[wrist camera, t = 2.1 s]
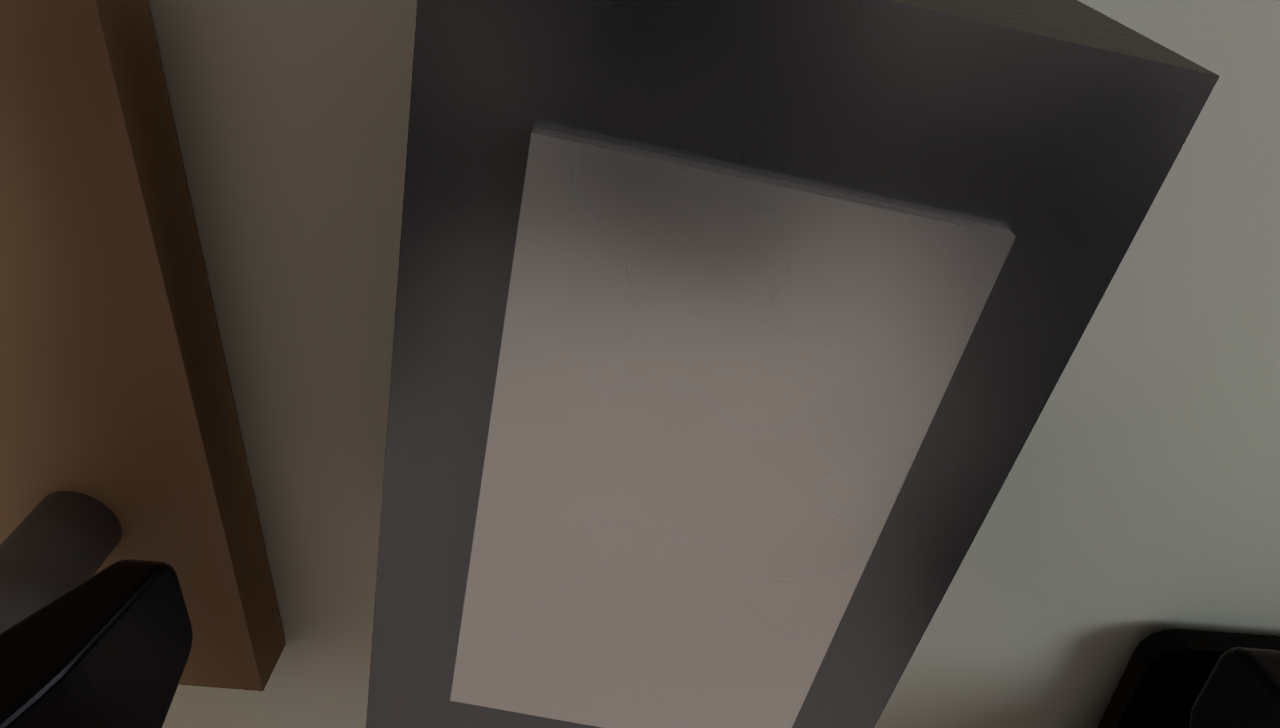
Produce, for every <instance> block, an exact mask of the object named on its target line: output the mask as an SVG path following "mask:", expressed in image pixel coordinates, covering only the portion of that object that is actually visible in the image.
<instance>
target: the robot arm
mask: <svg viewBox="0 0 1280 728" xmlns="http://www.w3.org/2000/svg"><path fill="white" fill-rule="evenodd" d="M192 639H193V632H192V625H191V621H190V618H189V614H188V611H187V607H186V604H185V600H184V597H183V593H182V590H181V586H180V583H179V579H178V576H177V573H176V571H175V569H174V568H173V567H172V566H171V565H170V564H168V563H165V562H159V561H146V560H133V559H126V560H121V561H118V562H115V563H113V564H112V565H110V566H108V567H106V568H105V569H103V570H102V571H100V572H98V573H97V574H95V575H93V576H92V577H90V578H89V579H87V580H85V581H84V582H82V583H81V584H79V585H77V586H76V587H74V588H73V589H71V590H69V591H68V592H66V593H64V594H63V595H61V596H60V597H58V598H56V599H55V600H53V601H52V602H50V603H48V604H47V605H45V606H44V607H42V608H40V609H39V610H37V611H35V612H34V613H32V614H31V615H29V616H27V617H26V618H24V619H23V620H21V621H19V622H18V623H16V624H15V625H13V626H11V627H10V628H8V629H6V630H5V631H3V632H2V633H0V728H162V726H163V723H164V721H165V718H166V716H167V713H168V710H169V708H170V705H171V702H172V700H173V697H174V695H175V692H176V689H177V687H178V684H179V682H180V679H181V676H182V674H183V671H184V668H185V666H186V663H187V661H188V658H189V655H190V651H191V647H192ZM1097 728H1280V637H1276V636H1263V635H1250V634H1237V633H1224V632H1211V631H1198V630H1185V629H1169V630H1163V631H1160V632H1156V633H1153V634H1151V635H1150V636H1148V637H1147V638H1145V639H1143V640H1142V641H1141V643H1140V644H1139V645H1138V646H1137V648H1136V649H1135V651H1134V653H1133V655H1132V657H1131V659H1130V661H1129V663H1128V665H1127V667H1126V670H1125V672H1124V674H1123V676H1122V678H1121V680H1120V682H1119V684H1118V686H1117V688H1116V690H1115V692H1114V694H1113V696H1112V698H1111V700H1110V702H1109V704H1108V706H1107V708H1106V710H1105V712H1104V714H1103V716H1102V718H1101V720H1100V722H1099V724H1098V726H1097Z"/></svg>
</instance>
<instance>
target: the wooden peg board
mask: <svg viewBox="0 0 1280 728" xmlns="http://www.w3.org/2000/svg"><path fill="white" fill-rule="evenodd" d="M126 559H133V560H146V561H159V562H165V563H168V564H170V565H171V566H172V567H173V568H174V569H175V571H176V573H177V576H178V579H179V583H180V586H181V590H182V593H183V597H184V600H185V604H186V607H187V611H188V614H189V618H190V621H191V625H192V632H193V639H192V647H191V651H190V655H189V658H188V661H187V663H186V666H185V668H184V671H183V674H182V676H181V679H180V682H179V684H181V685H194V686H206V687H219V688H231V689H244V690H257V691H263V690H264V688H265V686H266V684H267V682H268V680H269V678H270V675H271V673H272V671H273V669H274V667H275V665H276V663H277V661H278V659H279V657H280V655H281V653H282V651H283V649H284V646H285V639H284V634H283V630H282V625H281V620H280V616H279V611H278V606H277V602H276V597H275V592H274V588H273V583H272V578H271V574H270V569H269V564H268V560H267V555H266V550H265V546H264V541H263V536H262V532H261V527H260V522H259V518H258V513H257V508H256V504H255V499H254V495H253V490H252V485H251V481H250V476H249V471H248V467H247V462H246V457H245V453H244V448H243V443H242V439H241V434H240V429H239V425H238V420H237V415H236V411H235V406H234V401H233V397H232V392H231V387H230V383H229V378H228V373H227V369H226V364H225V359H224V355H223V350H222V345H221V341H220V336H219V331H218V327H217V322H216V317H215V313H214V308H213V303H212V299H211V294H210V289H209V285H208V280H207V275H206V271H205V266H204V261H203V257H202V252H201V247H200V243H199V238H198V233H197V229H196V224H195V220H194V215H193V210H192V206H191V201H190V196H189V192H188V187H187V182H186V178H185V173H184V168H183V164H182V159H181V154H180V150H179V145H178V140H177V136H176V131H175V126H174V122H173V117H172V112H171V108H170V103H169V98H168V94H167V89H166V84H165V80H164V75H163V70H162V66H161V61H160V56H159V52H158V47H157V42H156V38H155V33H154V28H153V24H152V19H151V14H150V10H149V5H148V0H0V633H2V632H3V631H5V630H6V629H8V628H10V627H11V626H13V625H15V624H16V623H18V622H19V621H21V620H23V619H24V618H26V617H27V616H29V615H31V614H32V613H34V612H35V611H37V610H39V609H40V608H42V607H44V606H45V605H47V604H48V603H50V602H52V601H53V600H55V599H56V598H58V597H60V596H61V595H63V594H64V593H66V592H68V591H69V590H71V589H73V588H74V587H76V586H77V585H79V584H81V583H82V582H84V581H85V580H87V579H89V578H90V577H92V576H93V575H95V574H97V573H98V572H100V571H102V570H103V569H105V568H106V567H108V566H110V565H112V564H113V563H115V562H118V561H121V560H126Z"/></svg>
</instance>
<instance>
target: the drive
mask: <svg viewBox="0 0 1280 728" xmlns="http://www.w3.org/2000/svg"><path fill="white" fill-rule="evenodd" d="M1218 78H1219V76H1218V75H1217V74H1215V73H1213V72H1211V71H1209V70H1207V69H1205V68H1203V67H1201V66H1200V65H1198V64H1196V63H1194V62H1192V61H1190V60H1188V59H1186V58H1185V57H1183V56H1181V55H1179V54H1177V53H1175V52H1173V51H1171V50H1170V49H1168V48H1166V47H1164V46H1162V45H1160V44H1158V43H1156V42H1154V41H1153V40H1151V39H1149V38H1147V37H1145V36H1143V35H1141V34H1139V33H1138V32H1136V31H1134V30H1132V29H1130V28H1128V27H1126V26H1124V25H1123V24H1121V23H1119V22H1117V21H1115V20H1113V19H1111V18H1109V17H1107V16H1106V15H1104V14H1102V13H1100V12H1098V11H1096V10H1094V9H1092V8H1091V7H1089V6H1087V5H1085V4H1083V3H1081V2H1079V1H1077V0H418V2H417V16H416V30H415V44H414V58H413V72H412V87H411V101H410V115H409V129H408V143H407V157H406V171H405V186H404V200H403V214H402V228H401V242H400V256H399V270H398V285H397V299H396V313H395V327H394V341H393V355H392V369H391V383H390V398H389V412H388V426H387V440H386V454H385V468H384V482H383V497H382V511H381V525H380V539H379V553H378V567H377V581H376V595H375V610H374V624H373V638H372V652H371V666H370V680H369V694H368V709H367V723H366V728H874V726H875V725H876V723H877V721H878V719H879V717H880V715H881V713H882V711H883V709H884V708H885V706H886V704H887V702H888V700H889V698H890V696H891V694H892V693H893V691H894V689H895V687H896V685H897V683H898V681H899V679H900V677H901V676H902V674H903V672H904V670H905V668H906V666H907V664H908V662H909V660H910V659H911V657H912V655H913V653H914V651H915V649H916V647H917V645H918V644H919V642H920V640H921V638H922V636H923V634H924V632H925V630H926V628H927V627H928V625H929V623H930V621H931V619H932V617H933V615H934V613H935V611H936V610H937V608H938V606H939V604H940V602H941V600H942V598H943V596H944V594H945V593H946V591H947V589H948V587H949V585H950V583H951V581H952V579H953V578H954V576H955V574H956V572H957V570H958V568H959V566H960V564H961V562H962V561H963V559H964V557H965V555H966V553H967V551H968V549H969V547H970V545H971V544H972V542H973V540H974V538H975V536H976V534H977V532H978V530H979V529H980V527H981V525H982V523H983V521H984V519H985V517H986V515H987V513H988V512H989V510H990V508H991V506H992V504H993V502H994V500H995V498H996V496H997V495H998V493H999V491H1000V489H1001V487H1002V485H1003V483H1004V481H1005V479H1006V478H1007V476H1008V474H1009V472H1010V470H1011V468H1012V466H1013V464H1014V463H1015V461H1016V459H1017V457H1018V455H1019V453H1020V451H1021V449H1022V447H1023V446H1024V444H1025V442H1026V440H1027V438H1028V436H1029V434H1030V432H1031V430H1032V429H1033V427H1034V425H1035V423H1036V421H1037V419H1038V417H1039V415H1040V414H1041V412H1042V410H1043V408H1044V406H1045V404H1046V402H1047V400H1048V398H1049V397H1050V395H1051V393H1052V391H1053V389H1054V387H1055V385H1056V383H1057V381H1058V380H1059V378H1060V376H1061V374H1062V372H1063V370H1064V368H1065V366H1066V365H1067V363H1068V361H1069V359H1070V357H1071V355H1072V353H1073V351H1074V349H1075V348H1076V346H1077V344H1078V342H1079V340H1080V338H1081V336H1082V334H1083V332H1084V331H1085V329H1086V327H1087V325H1088V323H1089V321H1090V319H1091V317H1092V315H1093V314H1094V312H1095V310H1096V308H1097V306H1098V304H1099V302H1100V300H1101V299H1102V297H1103V295H1104V293H1105V291H1106V289H1107V287H1108V285H1109V283H1110V282H1111V280H1112V278H1113V276H1114V274H1115V272H1116V270H1117V268H1118V266H1119V265H1120V263H1121V261H1122V259H1123V257H1124V255H1125V253H1126V251H1127V250H1128V248H1129V246H1130V244H1131V242H1132V240H1133V238H1134V236H1135V234H1136V233H1137V231H1138V229H1139V227H1140V225H1141V223H1142V221H1143V219H1144V217H1145V216H1146V214H1147V212H1148V210H1149V208H1150V206H1151V204H1152V202H1153V200H1154V199H1155V197H1156V195H1157V193H1158V191H1159V189H1160V187H1161V185H1162V184H1163V182H1164V180H1165V178H1166V176H1167V174H1168V172H1169V170H1170V168H1171V167H1172V165H1173V163H1174V161H1175V159H1176V157H1177V155H1178V153H1179V151H1180V150H1181V148H1182V146H1183V144H1184V142H1185V140H1186V138H1187V136H1188V135H1189V133H1190V131H1191V129H1192V127H1193V125H1194V123H1195V121H1196V119H1197V118H1198V116H1199V114H1200V112H1201V110H1202V108H1203V106H1204V104H1205V102H1206V101H1207V99H1208V97H1209V95H1210V93H1211V91H1212V89H1213V87H1214V85H1215V84H1216V82H1217V80H1218Z"/></svg>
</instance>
